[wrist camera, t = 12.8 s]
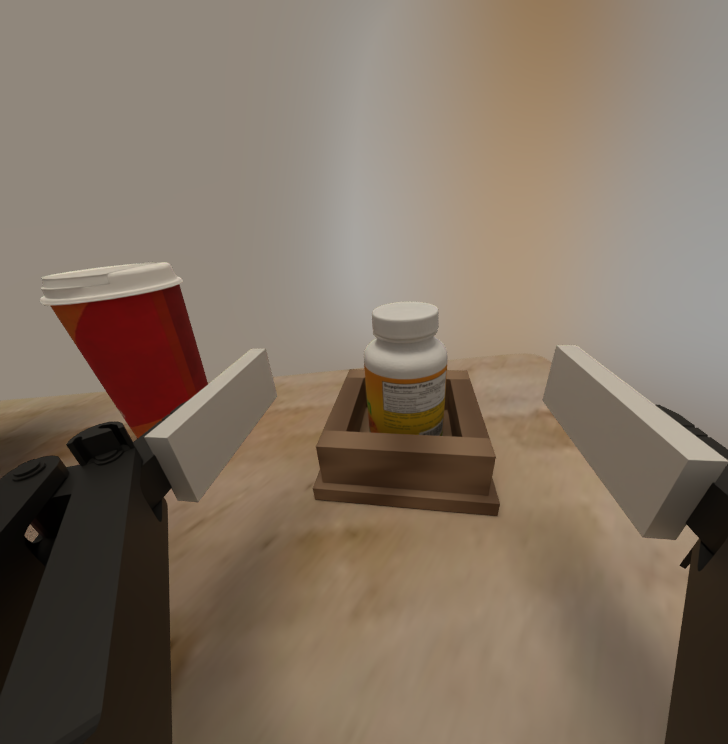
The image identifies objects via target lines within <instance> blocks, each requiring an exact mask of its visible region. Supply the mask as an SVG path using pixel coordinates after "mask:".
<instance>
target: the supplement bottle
mask: <svg viewBox="0 0 728 744" xmlns="http://www.w3.org/2000/svg"><path fill="white" fill-rule="evenodd" d="M372 324H373V335H374V336H375V337H376V339H374V340H373V341H371V342H370V343H369V344H368V346H367V347H366V349H365V352H364V369H365V382H366V394H367V406H368V419H369V431H370V433H389V434H410V435H431V436H442V434H443V422H444V406H445V391H446V376H447V350H446V347H445V346H444V344H443V343H442V342H441V341H440V340H439V339H437V338H436V337H434V335H436V333H437V329H438V308H437V307H436V306H434V305H432V304H429V303H424V302H396V303H389V304H385V305H382V306H379V307H377V308H375V309H374V310H373V312H372Z"/></svg>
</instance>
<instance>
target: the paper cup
mask: <svg viewBox="0 0 728 744" xmlns="http://www.w3.org/2000/svg"><path fill="white" fill-rule="evenodd" d="M41 279H42V284H43V287H42V288H41V290H42V291H43V294H44V296H43V297H41V299H40V300H41V301H40V303H42V304H43V305H50V306H51V307H52V309H53V310H54V312H55V314H56V315H57V317H58V318H59V320H60V321H61V323H62V324H63V326H64V327H65V329H66V330H67V332H68V333H69V335H70V336H71V338H72V340H73V341H74V343H75V344H76V346H77V347H78V349H79V350H80V352H81V353H82V355H83V356H84V358H85V359H86V361H87V362H88V364H89V366H90V367H91V369H92V370H93V372H94V373H95V375H96V376H97V378H98V379H99V381H100V383H101V384H102V386H103V387H104V389H105V390H106V392H107V393H108V395H109V396H110V398H111V399H112V401H113V402H114V404H115V405H116V407H117V408H118V410H119V411H120V413H121V414H122V416H123V417H124V419H125V420H126V422H127V423H128V425H129V426H130V428H131V429H132V431H133V432H134V434H135V435H136V437H137V438H139V437H140V436H142V435H143V434H144V433H145V432H147V431H148V430H149V429H150V428H152V427H153V426H154V425H155V424H156V423H158V422H159V421H162V419H163V418H164V417H165V416H166V415H168V414H170V412H171V411H173V410H174V409H175V408H176V407H177V406H179V405H180V404H182V403H184V402H186V401H188V400H189V399H191V398H192V397H193V396H195V395H196V394H197V393H198V392H199V391H201V390H202V389H203V388H204V387H206V386H207V385H208V382H207V379H206V376H205V372H204V368H203V365H202V361H201V358H200V355H199V351H198V348H197V345H196V341H195V337H194V334H193V331H192V327H191V323H190V320H189V316H188V313H187V310H186V306H185V303H184V299H183V296H182V292H181V289H180V285H179V284H181V283H182V282H183V280H182V279H181V278H180V277H177V276H176V274H175V272H174V270H173V269H172V267H171V265H170V264H169V263H167V262H162V263H156V262H152V263H143V264H128V265H118V266H109V267H102V268H93V269H85V270H78V271H71V272H65V273H59V274H54V275H49V276H44V277H42V278H41Z"/></svg>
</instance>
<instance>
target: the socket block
mask: <svg viewBox="0 0 728 744" xmlns="http://www.w3.org/2000/svg"><path fill="white" fill-rule="evenodd" d="M316 449H317V455H318V460H319V465H320V471H319V474H318V476H317V479H316V481H315V484H314V487H313V491H314V496H315V499H318V500H329V501H340V502H351V503H362V504H373V505H384V506H395V507H406V508H417V509H428V510H439V511H450V512H461V513H472V514H483V515H494V516H497V515H498V510H499V506H500V503H499V499H498V496H497V493H496V489H495V486H494V482H493V479H492V474H493V469H494V464H495V458H496V456H495V453H494V450H493V447H492V444H491V441H490V438H489V435H488V432H487V429H486V426H485V423H484V420H483V417H482V414H481V411H480V408H479V405H478V402H477V399H476V396H475V393H474V390H473V387H472V384H471V381H470V378H469V375H468V372H467V371H454V370H447V376H446V391H445V406H444V422H443V434H442V436H431V435H410V434H389V433H370V431H369V419H368V406H367V394H366V382H365V370H361V369H350V370H349V372H348V374H347V377H346V379H345V381H344V384H343V386H342V388H341V390H340V393H339V395H338V397H337V400H336V402H335V404H334V406H333V409H332V411H331V413H330V416H329V418H328V420H327V422H326V425H325V427H324V429H323V432H322V434H321V436H320V438H319V441H318V443H317V445H316Z"/></svg>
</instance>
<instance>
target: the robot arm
mask: <svg viewBox="0 0 728 744" xmlns="http://www.w3.org/2000/svg"><path fill="white" fill-rule="evenodd" d="M276 397H277V393H276V389H275V385H274V381H273V377H272V372H271V368H270V364H269V360H268V356H267V352H266V349H251V350H249V351H248V352H247V353H246V354H244V355H243V356H242V357H241V358H240V359H238V360H237V361H236V362H235V363H234V364H232V365H231V366H230V367H229V368H228V369H226V370H225V371H224V372H223V373H221V374H220V375H219V376H218V377H217V378H215V379H214V380H213V381H212V382H210V383H209V384H208V385H207V386H206V387H204V388H203V389H202V390H201V391H199V392H198V393H197V394H196V395H195V396H193V397H192V398H191V399H189V400H188V401H186V402H184V403H182V404H180V405H179V406H177V407H176V408H175V409H174V410H173V411H171V412H170V414H168V415H166V416H165V417H164V418H163V419H162V421H159V422H158V423H156V424H155V425H154V426H153V427H152V428H150V429H149V430H148V431H147V432H145V433H144V434H143V435H142V436H140V437H139V438H138V439H137V440H136V441H134V442H133V441H132V439H131V438H130V436H129V434H128V432H127V431H126V429H125V427H124V425H123V423H120V422H107V423H102V424H99V425H96V426H93V427H91V428H88V429H86V430H84V431H82V432H80V433H79V434H77V435H76V436H74V437H73V438H72V439H70V441H69V442H68V443H67V444H66V445H67V447H68V448H69V450H70V451H71V452H72V454H73V455H74V457H75V458H76V460H77V461H78V462H79V464H80V465H76V466H70V467H66V466H65V465H64V464H63V462H62V461H61V460H60V458H59V457H58V456H45V457H41V458H38V459H33V460H30V461H27V463H26V462H25V463H23V464H21V465H19V466H18V467H17V468H15V469H14V470H12V471H10V472H9V473H7V474H6V475H5V476H4V477H2V478H1V479H0V744H172V711H171V660H170V609H169V558H168V507H167V502H166V500H165V498H164V496H165V495H166V494H167V493H168V491H169V490H170V489H171V488H172V490H173V492H174V494H175V496H176V498H177V500H178V501H189V502H199V501H200V499H201V498H202V497H203V495H204V494H205V493H206V491H207V490H208V489H209V487H210V486H211V485H212V483H213V482H214V480H215V479H216V478H217V476H218V475H219V474H220V472H221V471H222V470H223V468H224V467H225V466H226V464H227V463H228V462H229V460H230V459H231V458H232V456H233V455H234V454H235V452H236V451H237V450H238V448H239V447H240V446H241V444H242V443H243V442H244V440H245V439H246V437H247V436H248V435H249V433H250V432H251V431H252V429H253V428H254V427H255V425H256V424H257V423H258V421H259V420H260V419H261V417H262V416H263V415H264V413H265V412H266V411H267V409H268V408H269V407H270V405H271V404H272V403H273V401H274V400H275V399H276ZM543 402H544V403H545V404H546V406H547V407H548V409H549V410H550V411H551V413H552V414H553V415H554V417H555V418H556V420H557V421H558V422H559V424H560V425H561V426H562V428H563V429H564V430H565V432H566V433H567V435H568V436H569V437H570V439H571V440H572V441H573V443H574V444H575V445H576V447H577V448H578V450H579V451H580V452H581V454H582V455H583V456H584V458H585V459H586V461H587V462H588V463H589V465H590V466H591V467H592V469H593V470H594V471H595V473H596V474H597V476H598V477H599V478H600V480H601V481H602V482H603V484H604V485H605V487H606V488H607V489H608V491H609V492H610V493H611V495H612V496H613V497H614V499H615V500H616V502H617V503H618V504H619V506H620V507H621V508H622V510H623V511H624V513H625V514H626V515H627V517H628V518H629V519H630V521H631V522H632V523H633V525H634V526H635V528H636V529H637V530H638V532H639V533H640V534H641V536H642V537H645V538H657V539H670V540H676V539H677V538H678V536H679V535H680V533H681V532H682V530H683V529H684V527H685V526H686V524H687V525H688V526H689V527H690V529H691V530H692V531H693V532H694V533H695V534H696V535H697V536H698V537H699V539H698V541H697V542H696V544H695V545H694V546H693V548H692V549H691V550H690V552H689V553H688V554H687V556H686V557H685V558H684V560H683V561H682V563H681V564H680V566H681V567H683V568H685V569H686V568H687V566H688V565H689V564H690V570H689V577H688V584H687V591H686V598H685V605H684V612H683V619H682V626H681V633H680V640H679V647H678V654H677V661H676V668H675V675H674V682H673V689H672V696H671V703H670V710H669V717H668V724H667V731H666V738H665V744H728V450H727V449H726V448H725V447H723V446H722V445H721V444H719V443H718V442H716V441H715V440H714V439H712V438H710V437H708V435H707V434H705V433H704V432H703V431H701V430H700V429H699V428H695V427H694V425H693V424H692V423H690V422H689V421H687V420H686V419H685V418H683V417H682V416H681V415H679V414H677V413H675V412H673V411H671V410H669V409H667V408H665V407H662V406H660V405H654V404H653V403H652V402H650V401H649V400H648V399H646V398H645V397H644V396H642V395H641V394H640V393H638V392H637V391H636V390H634V389H633V388H632V387H631V386H629V385H628V384H627V383H625V382H624V381H622V380H621V379H620V378H619V377H617V376H616V375H615V374H613V373H612V372H611V371H610V370H608V369H607V368H606V367H604V366H603V365H602V364H600V363H599V362H598V361H596V360H595V359H594V358H592V357H591V356H590V355H588V354H587V353H586V352H584V351H583V350H582V349H581V348H579V347H578V346H577V345H557V346H556V349H555V353H554V357H553V361H552V365H551V369H550V373H549V377H548V380H547V384H546V388H545V392H544V396H543ZM30 524H31V525H32V526H33V528H34V529H35V530H36V531H37V532H38V533H39V535H38V536H37V537H36V539H35V540H34V541H33V542H30V541H29V540H28V539H27V538H26V537H25V536H24V534H25V532H26V530H27V528H28V526H29V525H30Z"/></svg>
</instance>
